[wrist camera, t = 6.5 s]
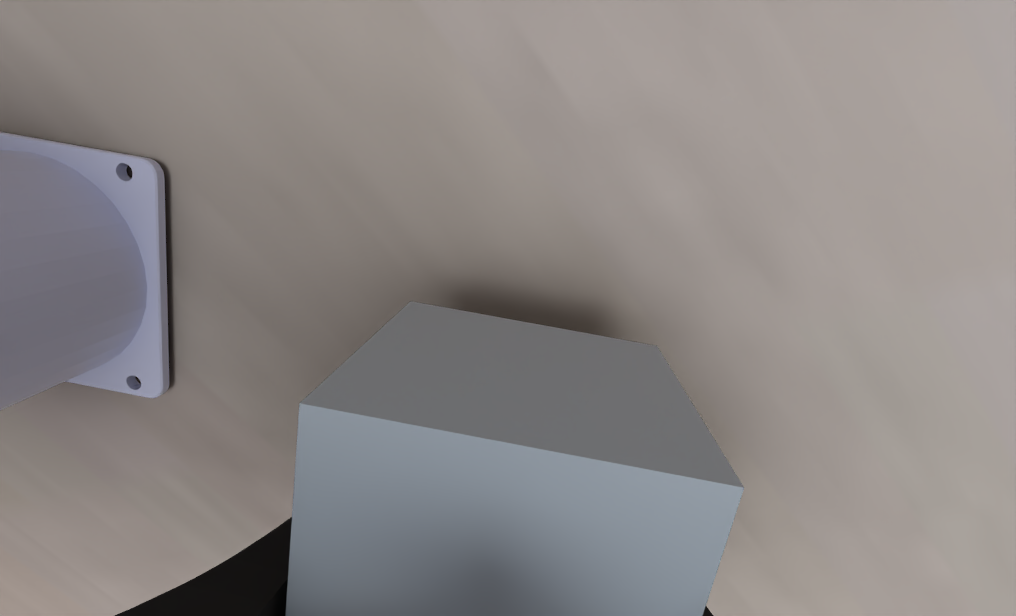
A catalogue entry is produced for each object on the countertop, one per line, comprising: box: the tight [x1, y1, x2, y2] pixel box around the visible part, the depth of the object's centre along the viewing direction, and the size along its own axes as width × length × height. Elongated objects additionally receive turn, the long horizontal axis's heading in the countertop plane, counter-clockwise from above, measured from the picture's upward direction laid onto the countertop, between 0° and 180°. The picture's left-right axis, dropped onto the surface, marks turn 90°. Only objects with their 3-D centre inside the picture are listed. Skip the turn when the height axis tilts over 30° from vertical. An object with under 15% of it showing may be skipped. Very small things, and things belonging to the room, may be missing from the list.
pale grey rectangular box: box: [286, 301, 744, 616], centre depth 11 cm, size 6×9×6 cm, turn 170°
